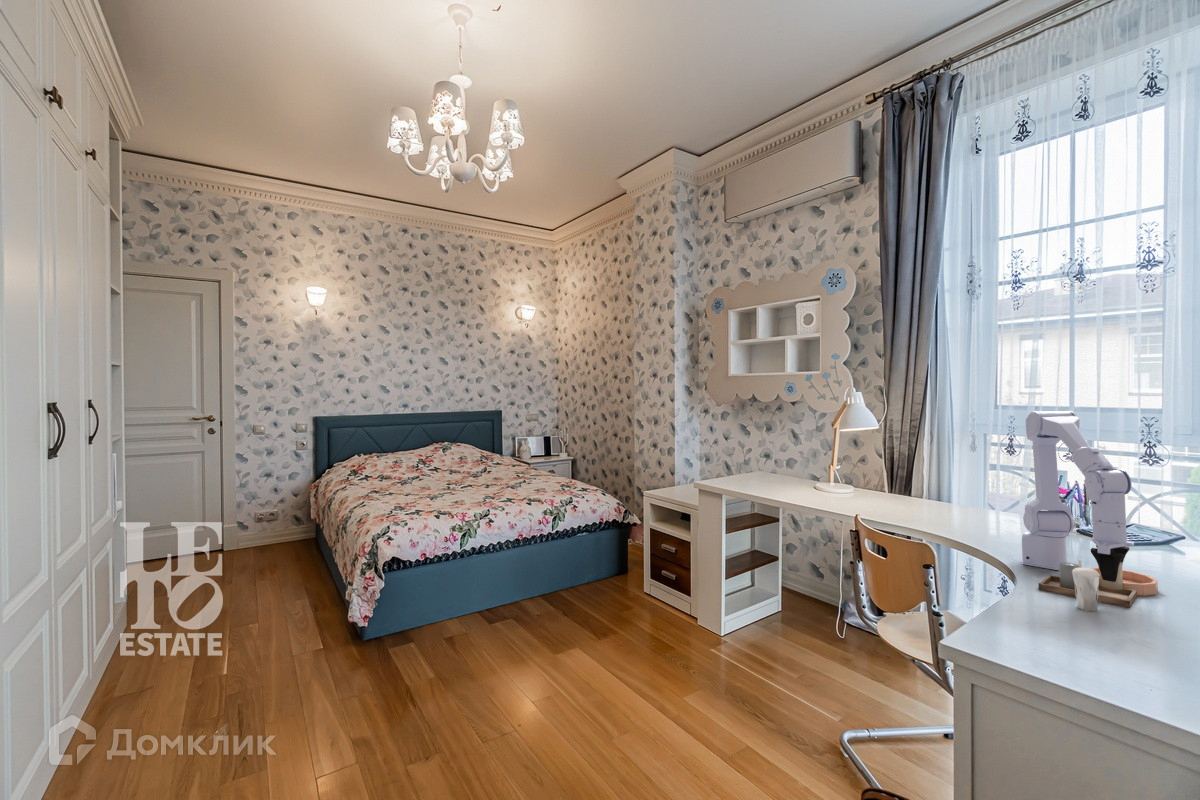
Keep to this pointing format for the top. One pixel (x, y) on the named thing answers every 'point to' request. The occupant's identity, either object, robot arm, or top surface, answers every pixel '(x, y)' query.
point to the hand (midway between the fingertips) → (1111, 578)
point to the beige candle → (1114, 585)
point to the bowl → (1137, 582)
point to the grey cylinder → (1067, 574)
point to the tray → (1104, 594)
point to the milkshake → (1086, 588)
